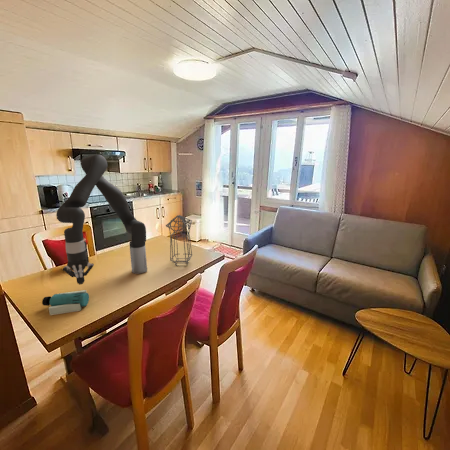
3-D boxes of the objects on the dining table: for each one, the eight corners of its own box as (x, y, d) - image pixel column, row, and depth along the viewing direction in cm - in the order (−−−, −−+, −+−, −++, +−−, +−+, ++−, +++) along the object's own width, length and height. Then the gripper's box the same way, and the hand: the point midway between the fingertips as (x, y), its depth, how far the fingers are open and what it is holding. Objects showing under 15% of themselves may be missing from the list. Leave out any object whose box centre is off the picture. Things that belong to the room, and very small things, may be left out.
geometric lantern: (190, 268, 152) (188, 218, 143) (167, 268, 153) (163, 217, 144) (194, 259, 168) (192, 212, 158) (173, 259, 168) (170, 212, 159)
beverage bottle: (85, 305, 105) (37, 307, 102) (91, 307, 111) (46, 309, 108) (88, 291, 108) (41, 292, 105) (93, 293, 114) (49, 294, 111)
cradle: (87, 295, 118) (86, 289, 117) (80, 310, 106) (79, 304, 105) (59, 299, 114) (58, 293, 114) (49, 315, 103) (48, 308, 102)
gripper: (93, 246, 111) (98, 278, 115) (62, 248, 107) (67, 281, 111) (90, 251, 104) (95, 285, 108) (56, 254, 100) (62, 289, 104)
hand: (81, 283), depth 110 cm, fingers closed
